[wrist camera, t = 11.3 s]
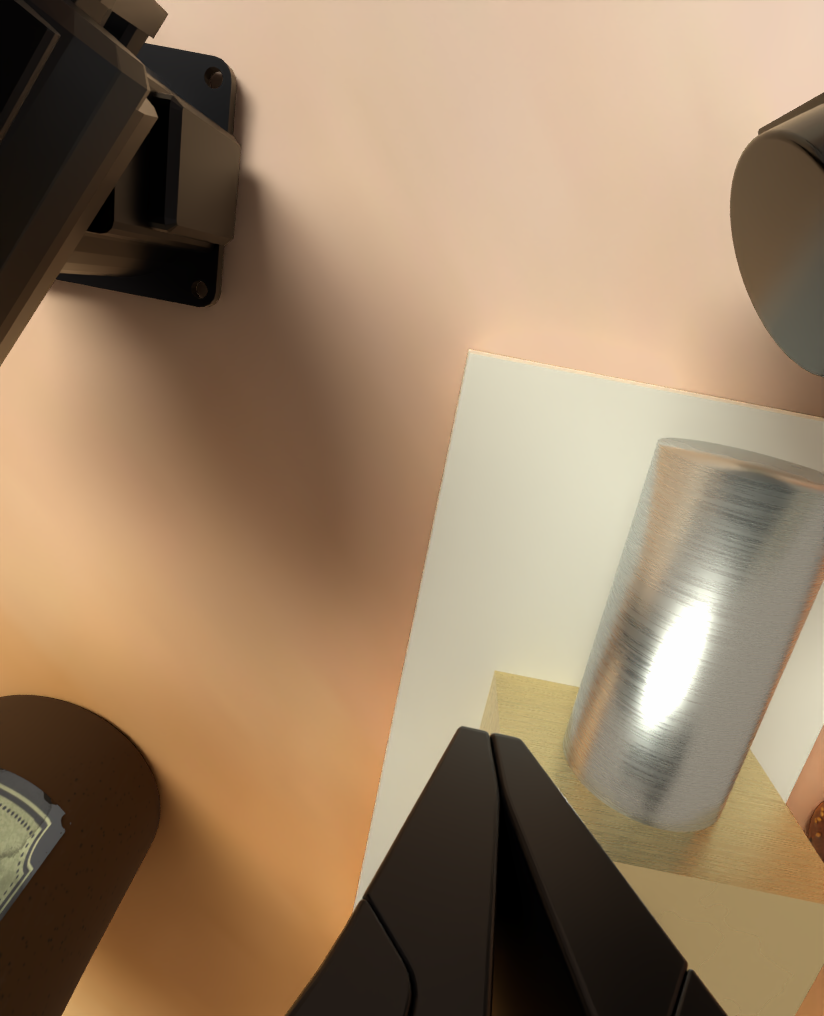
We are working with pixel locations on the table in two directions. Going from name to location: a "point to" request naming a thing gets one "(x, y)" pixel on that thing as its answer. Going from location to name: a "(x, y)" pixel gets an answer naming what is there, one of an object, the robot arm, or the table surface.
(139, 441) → the table surface
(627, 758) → the valve body
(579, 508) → the mount board
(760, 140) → the pneumatic valve
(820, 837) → the pretzel
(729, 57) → the table surface
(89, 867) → the olive oil
